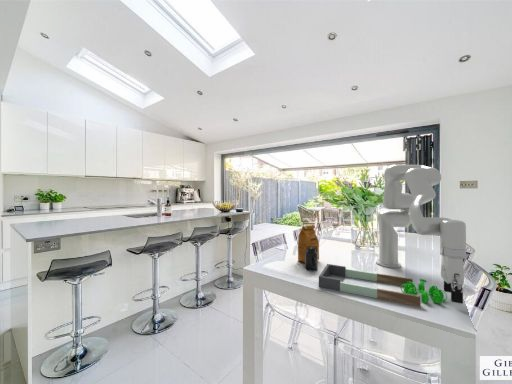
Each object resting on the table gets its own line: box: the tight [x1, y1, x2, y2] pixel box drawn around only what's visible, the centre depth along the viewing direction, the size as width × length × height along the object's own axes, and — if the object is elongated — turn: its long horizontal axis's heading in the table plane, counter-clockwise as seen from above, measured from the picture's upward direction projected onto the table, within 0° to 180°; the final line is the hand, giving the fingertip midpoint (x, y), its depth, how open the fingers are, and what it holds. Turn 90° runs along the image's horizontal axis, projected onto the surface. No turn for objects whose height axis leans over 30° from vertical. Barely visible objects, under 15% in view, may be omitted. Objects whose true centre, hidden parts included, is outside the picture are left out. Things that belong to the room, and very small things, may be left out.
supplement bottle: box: [304, 246, 319, 271], centre depth 123 cm, size 7×7×12 cm
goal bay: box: [339, 268, 378, 299], centre depth 101 cm, size 20×14×4 cm
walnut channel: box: [376, 272, 422, 308], centre depth 94 cm, size 20×14×4 cm
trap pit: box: [318, 263, 347, 292], centre depth 106 cm, size 20×9×4 cm, turn 152°
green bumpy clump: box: [400, 278, 448, 305], centre depth 90 cm, size 15×15×7 cm
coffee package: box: [297, 224, 320, 263], centre depth 137 cm, size 10×12×22 cm
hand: (452, 296), depth 85 cm, fingers open, 9 cm apart
